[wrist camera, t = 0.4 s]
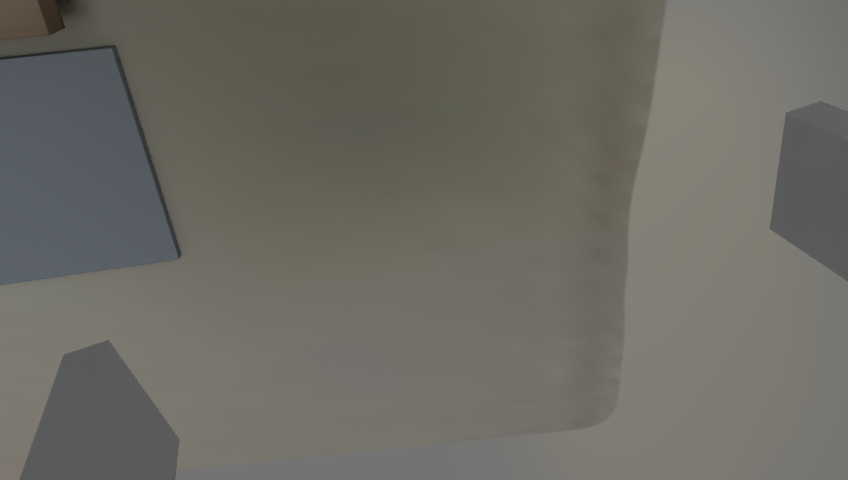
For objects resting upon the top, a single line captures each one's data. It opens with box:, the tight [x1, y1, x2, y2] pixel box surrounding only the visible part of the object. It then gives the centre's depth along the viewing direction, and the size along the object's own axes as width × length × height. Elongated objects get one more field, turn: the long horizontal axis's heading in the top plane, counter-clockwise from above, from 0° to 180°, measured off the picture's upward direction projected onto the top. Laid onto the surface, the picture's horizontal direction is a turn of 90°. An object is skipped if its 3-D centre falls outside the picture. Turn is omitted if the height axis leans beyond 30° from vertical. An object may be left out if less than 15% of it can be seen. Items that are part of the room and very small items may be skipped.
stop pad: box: [0, 46, 181, 285], centre depth 34 cm, size 13×12×1 cm
